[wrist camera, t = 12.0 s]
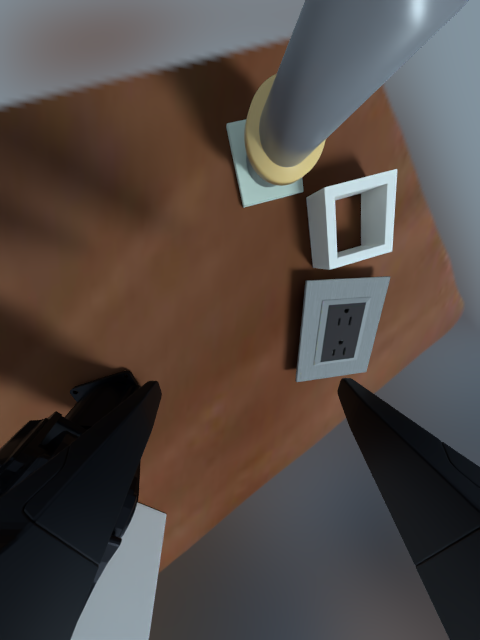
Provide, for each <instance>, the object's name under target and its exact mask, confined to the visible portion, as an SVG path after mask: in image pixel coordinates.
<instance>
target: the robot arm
mask: <svg viewBox="0 0 480 640" xmlns="http://www.w3.org/2000/svg"><path fill="white" fill-rule="evenodd" d="M125 375H128V376H125ZM76 391H78V392H76ZM70 394H71V395H72V396H73V398H74V399H75V400H76V401H77V403H76V404H75V406H74V407H73V408H72V409H71V410H70V411H69V413H68V414H67V415H66V416H65V417H62V414H60V413H58V412H54V413H53V414H52V415H51V416H50V417H48V418H45V419H42V420H33V421H29V422H28V423H27V424H25V425H24V426H23V427H22V428H21V429H20V430H19V431H18V432H17V433H16V434H15V435H14V436H13V437H12V438H11V439H10V440H9V441H8V442H7V443H6V444H5V445H4V446H3V447H2V448H1V449H0V640H71V637H72V635H73V632H74V630H75V627H76V624H77V622H78V620H79V618H80V616H81V613H82V611H83V609H84V607H85V605H86V603H87V601H88V599H89V597H90V595H91V593H92V591H93V589H94V587H95V585H96V583H97V581H98V579H99V577H100V576H101V574H102V572H103V571H104V569H105V567H106V565H107V564H108V562H109V561H110V559H111V558H112V556H113V555H114V553H115V552H116V551H117V549H118V548H119V546H120V544H121V542H122V536H123V535H124V533H125V531H126V530H127V528H128V526H129V524H130V522H131V520H132V517H133V515H134V512H135V509H136V506H137V502H138V496H139V479H140V460H141V457H142V454H143V452H144V449H145V447H146V444H147V442H148V439H149V436H150V434H151V431H152V428H153V425H154V421H155V418H156V414H157V411H158V407H159V403H160V400H161V396H162V393H161V389H160V386H159V383H158V382H157V381H148V382H147V383H145V384H144V385H143V386H142V387H141V386H140V385H138V383H137V381H136V380H135V378H134V376H133V375H132V373H131V372H130V371H123V372H120V373H117V374H113V375H110V376H107V377H104V378H101V379H97V380H94V381H91V382H88V383H85V384H82V385H78V386H75V387H73V388H72V389H71V391H70ZM338 396H339V399H340V402H341V404H342V407H343V410H344V413H345V416H346V418H347V421H348V424H349V426H350V428H351V431H352V433H353V435H354V437H355V440H356V442H357V444H358V446H359V448H360V450H361V452H362V454H363V456H364V459H365V461H366V463H367V465H368V467H369V469H370V471H371V473H372V476H373V478H374V480H375V482H376V484H377V486H378V488H379V490H380V492H381V494H382V497H383V499H384V501H385V503H386V505H387V507H388V509H389V512H390V513H391V516H392V518H393V520H394V522H395V524H396V526H397V528H398V530H399V533H400V535H401V537H402V539H403V541H404V543H405V545H406V547H407V550H408V551H409V554H410V556H411V558H412V560H413V562H414V564H415V565H416V569H417V571H418V573H419V575H420V578H421V580H422V582H423V584H424V586H425V588H426V590H427V592H428V594H429V596H430V599H431V601H432V603H433V605H434V607H435V609H436V611H437V614H438V616H439V618H440V620H441V622H442V624H443V626H444V628H445V631H446V633H447V634H448V636H449V639H450V640H480V467H479V466H478V465H476V464H475V463H473V462H472V461H470V460H469V459H467V458H466V457H464V456H462V455H461V454H460V453H458V452H457V451H455V450H454V449H453V448H451V447H450V446H448V445H447V444H445V443H444V442H441V441H440V440H439V439H438V438H437V437H435V436H433V435H432V434H431V433H429V432H428V431H426V430H425V429H424V428H422V427H421V426H419V425H418V424H416V423H415V422H413V421H412V420H411V419H409V418H408V417H406V416H405V415H403V414H402V413H400V412H399V411H398V410H396V409H395V408H393V407H392V406H390V405H389V404H388V403H386V402H385V401H383V400H382V399H380V398H379V397H377V396H376V395H375V394H373V393H372V392H370V391H369V390H367V389H366V388H364V387H363V386H362V385H360V384H359V383H357V382H356V381H354V380H353V379H351V378H343V379H341V381H340V384H339V387H338Z"/></svg>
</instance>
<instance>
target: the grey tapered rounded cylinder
mask: <svg viewBox="0 0 480 640" xmlns="http://www.w3.org/2000/svg"><path fill="white" fill-rule="evenodd" d="M468 1H469V0H305V3H304V5H303V8H302V10H301V13H300V16H299V18H298V21H297V23H296V26H295V28H294V31H293V33H292V36H291V39H290V41H289V44H288V46H287V49H286V52H285V54H284V57H283V59H282V62H281V64H280V67H279V70H278V72H277V74H276V75H273V76H272V77H270V78H268V79H267V80H266V81H265V82H264V83H263V84H262V85H261V86H260V87H259V89H258V90H257V92H256V94H255V96H254V98H253V100H252V102H251V105H250V108H249V112H248V115H247V119H246V123H245V130H244V141H245V148H246V153H247V155H246V163H247V168H248V172H249V174H250V176H251V177H252V179H253V180H254V181H255V182H256V183H257V184H259V185H260V186H263V187H274V186H276V185H279V186H283V185H289V184H292V183H294V182H296V181H298V180H299V179H300V178H302V177H303V176H304V175H305V174H307V173H308V172H309V171H310V170H311V169H312V168H313V167H314V165H315V164H316V162H317V161H318V159H319V157H320V155H321V153H322V150H323V147H324V144H325V140H326V138H327V137H328V136H329V135H330V134H331V133H333V132H334V131H335V130H336V129H337V128H338V127H339V126H340V125H341V124H342V123H343V122H344V121H345V120H346V119H347V118H348V117H349V116H350V115H351V114H352V113H353V112H354V111H355V110H356V109H358V108H359V107H360V106H361V105H362V104H363V103H364V102H365V101H366V100H367V99H368V98H369V97H370V96H371V95H372V94H373V93H374V92H375V91H376V90H377V89H378V88H379V87H380V86H381V85H383V84H384V83H385V82H386V81H387V80H388V79H389V78H390V77H391V76H392V75H393V74H394V73H395V72H396V71H397V70H398V69H399V68H400V67H401V66H402V65H403V64H404V63H405V62H406V61H407V60H408V59H410V58H411V57H412V56H413V55H414V54H415V53H416V52H417V51H418V50H419V49H420V48H421V47H422V46H423V45H424V44H425V43H426V42H427V41H428V40H429V39H430V38H431V37H432V36H433V35H435V34H436V33H437V32H438V31H439V30H440V29H441V28H442V27H443V26H444V25H445V24H446V23H447V22H448V21H449V20H450V19H451V18H452V17H453V16H454V15H455V14H456V13H457V12H458V11H459V10H460V9H461V8H462V7H463V6H464V5H465V4H466V3H467V2H468Z"/></svg>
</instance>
